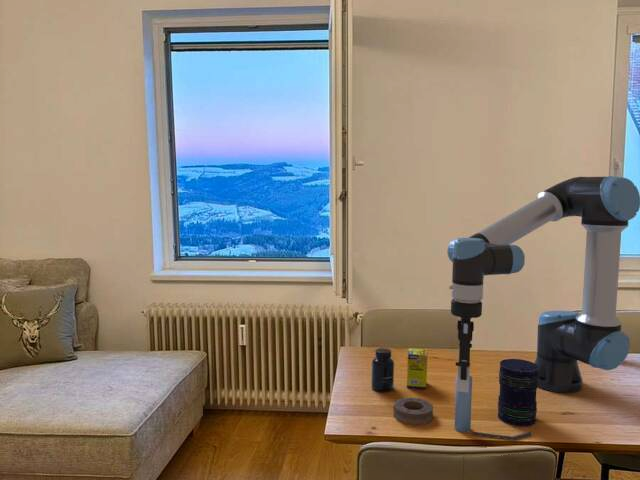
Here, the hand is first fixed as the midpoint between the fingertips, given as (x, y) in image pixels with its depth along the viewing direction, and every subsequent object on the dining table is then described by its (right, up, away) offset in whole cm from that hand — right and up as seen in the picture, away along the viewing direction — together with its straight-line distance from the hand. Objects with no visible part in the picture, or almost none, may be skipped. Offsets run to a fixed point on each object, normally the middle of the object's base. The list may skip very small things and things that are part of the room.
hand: (462, 381), depth 135 cm
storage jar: (+16, -12, +8) cm, 22 cm away
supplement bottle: (-17, -10, +28) cm, 34 cm away
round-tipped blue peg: (0, -13, +2) cm, 13 cm away
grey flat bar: (+9, -13, -2) cm, 16 cm away
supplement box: (-6, -10, +30) cm, 32 cm away
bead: (-11, -12, +9) cm, 19 cm away
